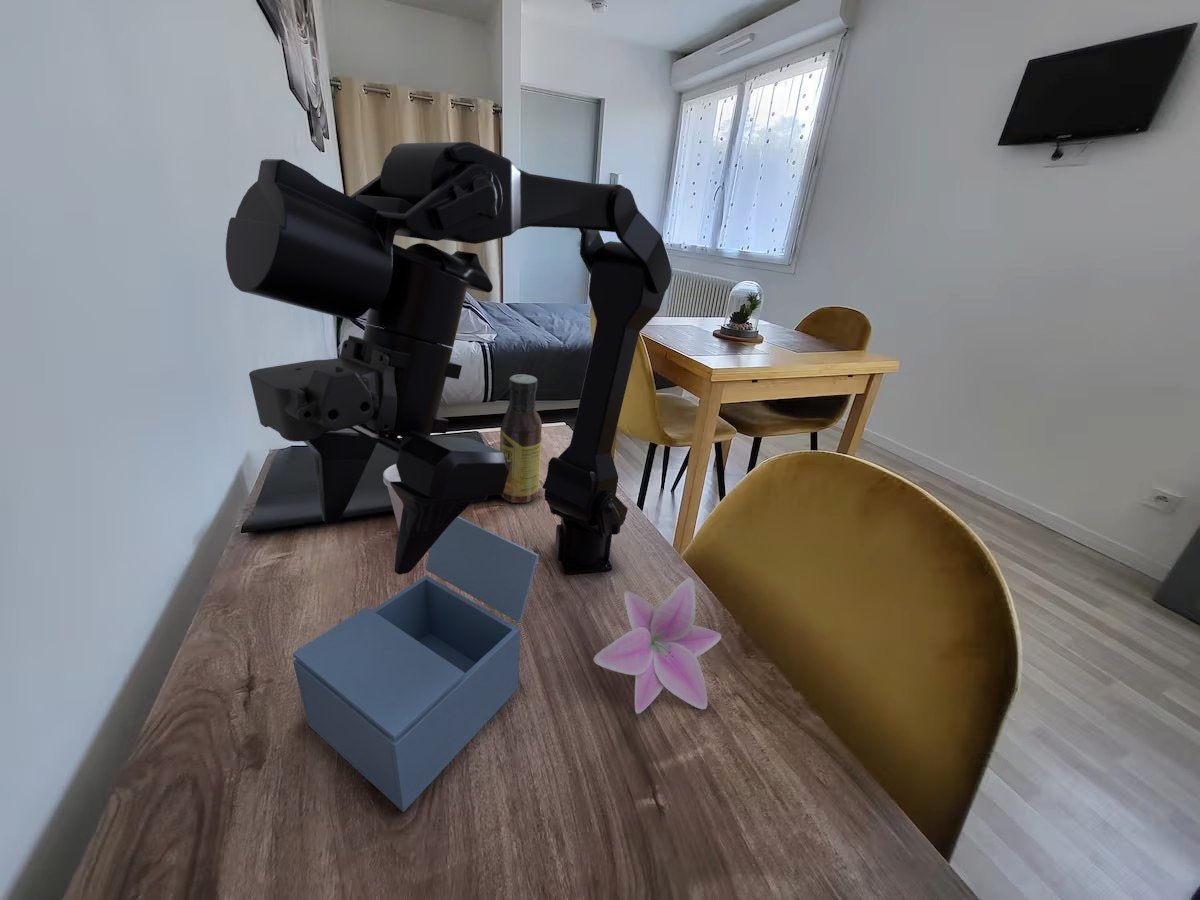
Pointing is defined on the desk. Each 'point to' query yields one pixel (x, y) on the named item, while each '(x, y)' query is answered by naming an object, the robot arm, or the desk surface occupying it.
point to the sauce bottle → (521, 440)
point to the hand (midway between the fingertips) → (364, 545)
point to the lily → (662, 648)
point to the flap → (484, 566)
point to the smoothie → (392, 476)
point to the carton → (408, 684)
